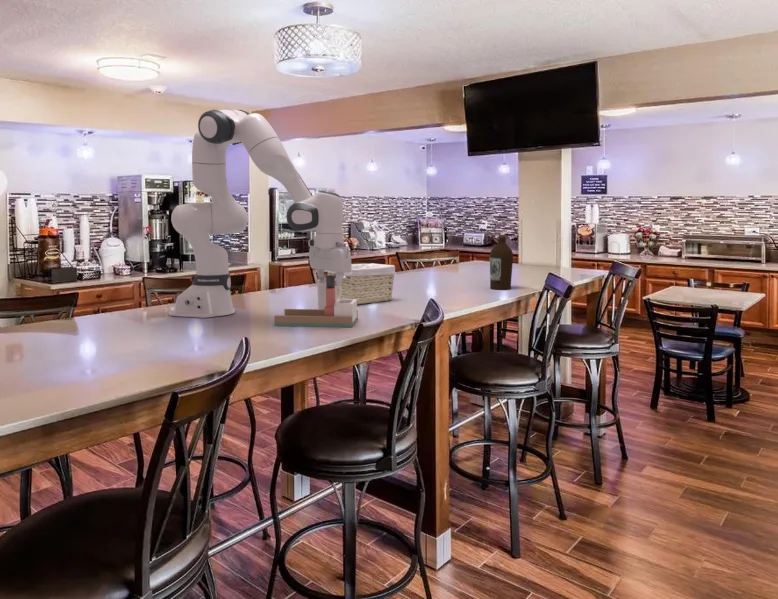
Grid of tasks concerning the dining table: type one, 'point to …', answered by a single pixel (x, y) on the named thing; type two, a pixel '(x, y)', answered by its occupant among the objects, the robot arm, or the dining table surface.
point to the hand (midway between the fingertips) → (330, 284)
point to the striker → (330, 295)
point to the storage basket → (367, 283)
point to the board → (321, 316)
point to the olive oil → (501, 265)
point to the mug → (322, 294)
